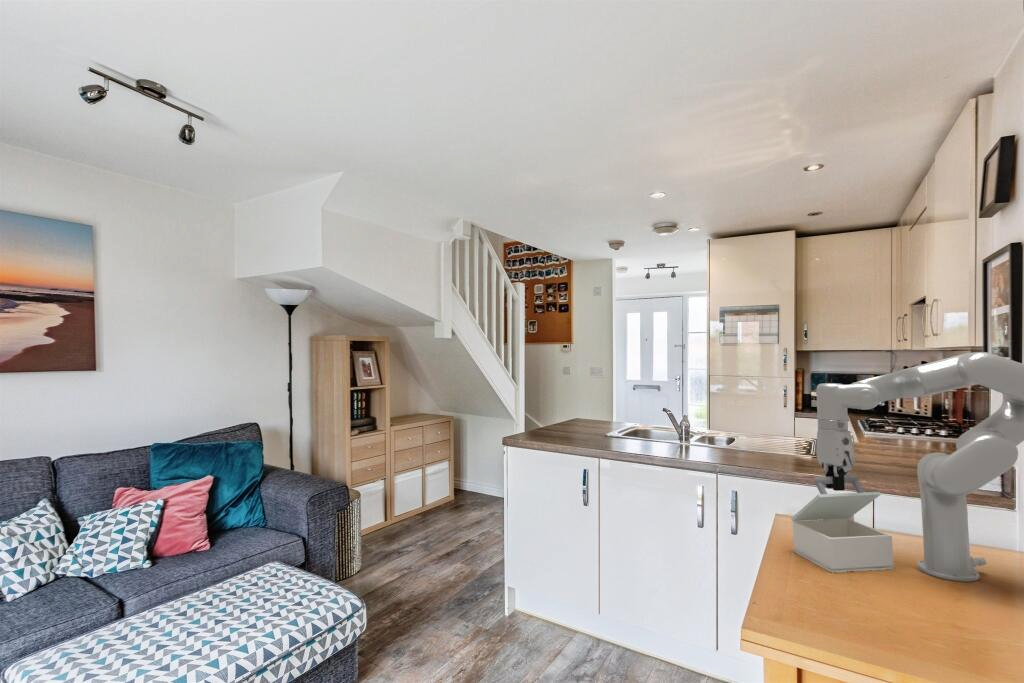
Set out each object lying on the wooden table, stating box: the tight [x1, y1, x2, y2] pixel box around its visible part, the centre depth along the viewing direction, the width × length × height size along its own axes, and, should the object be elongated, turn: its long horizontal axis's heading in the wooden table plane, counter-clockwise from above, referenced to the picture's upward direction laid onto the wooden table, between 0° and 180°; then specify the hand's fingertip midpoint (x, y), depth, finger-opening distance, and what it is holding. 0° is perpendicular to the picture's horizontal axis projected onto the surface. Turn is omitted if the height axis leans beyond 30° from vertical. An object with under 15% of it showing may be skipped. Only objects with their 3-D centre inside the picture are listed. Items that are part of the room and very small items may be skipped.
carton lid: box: [791, 475, 881, 522], centre depth 152 cm, size 18×16×7 cm
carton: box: [792, 519, 894, 574], centre depth 147 cm, size 18×16×9 cm
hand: (835, 488), depth 149 cm, fingers closed on carton lid, 2 cm apart
